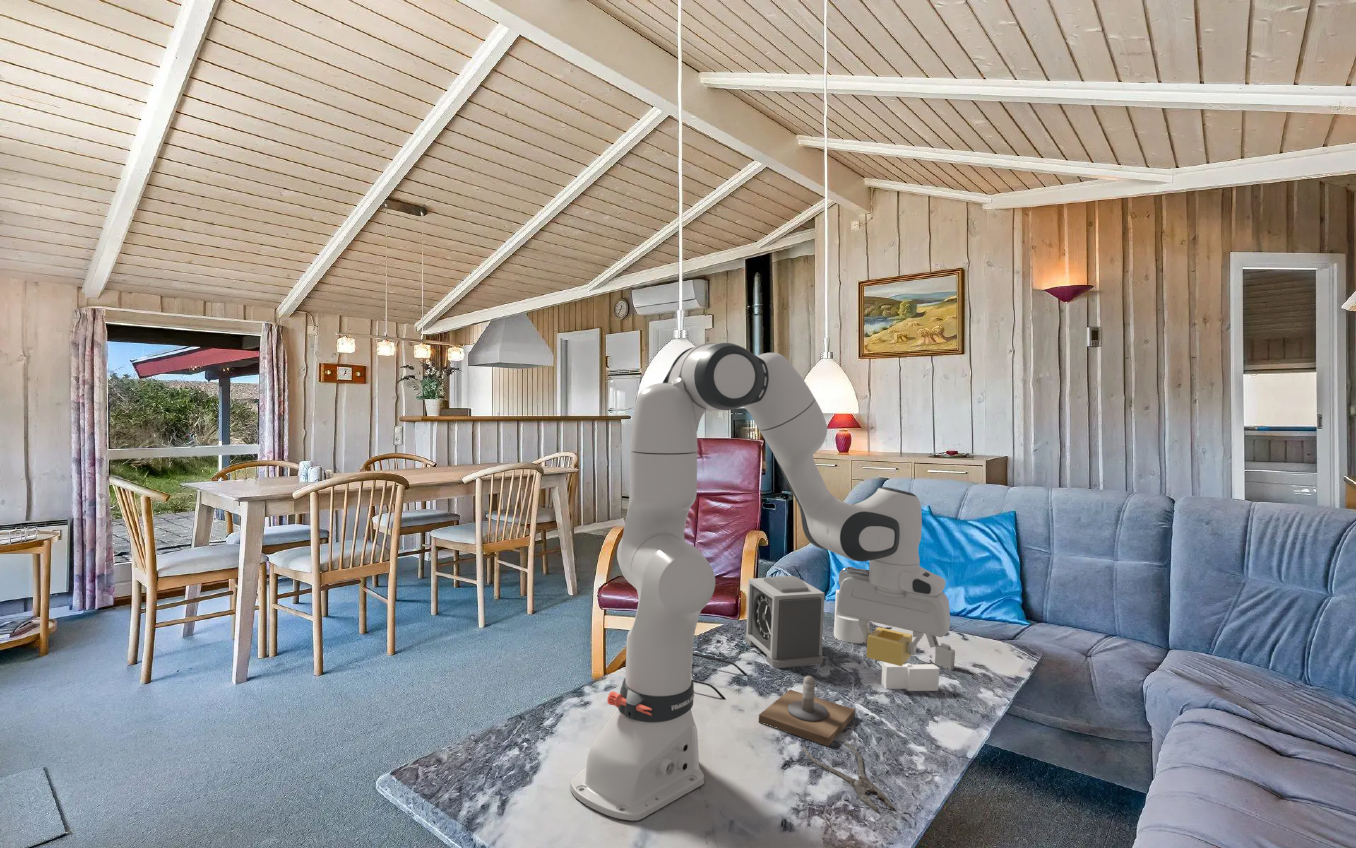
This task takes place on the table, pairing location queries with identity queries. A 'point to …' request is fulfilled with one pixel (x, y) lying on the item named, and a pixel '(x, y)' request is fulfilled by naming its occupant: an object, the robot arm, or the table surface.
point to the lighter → (942, 653)
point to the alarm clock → (785, 620)
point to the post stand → (808, 715)
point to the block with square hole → (888, 646)
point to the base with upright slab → (847, 627)
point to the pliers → (857, 781)
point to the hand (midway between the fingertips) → (889, 648)
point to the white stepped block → (910, 677)
